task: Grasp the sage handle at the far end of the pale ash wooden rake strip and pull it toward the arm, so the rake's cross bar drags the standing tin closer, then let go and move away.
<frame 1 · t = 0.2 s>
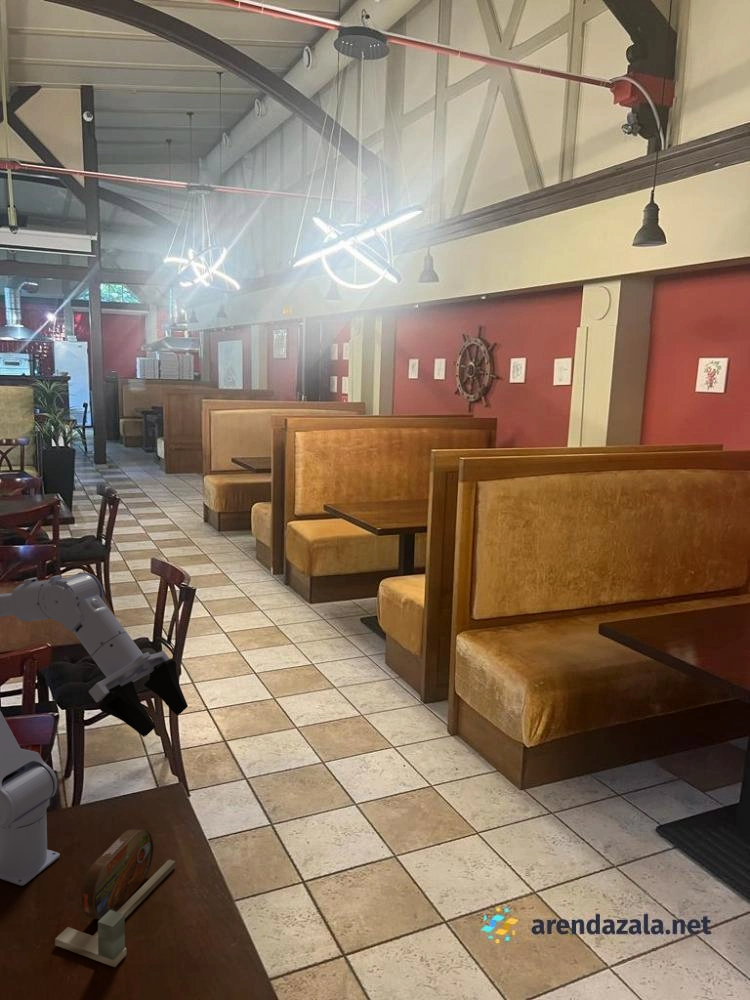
hand: (166, 721, 101), 31 cm above the table, tool tilted 45°, fingers open, 7 cm apart
rake strip: (132, 889, 107), point 3 cm above the table, slide at 0.0 cm
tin: (119, 898, 109), on the table
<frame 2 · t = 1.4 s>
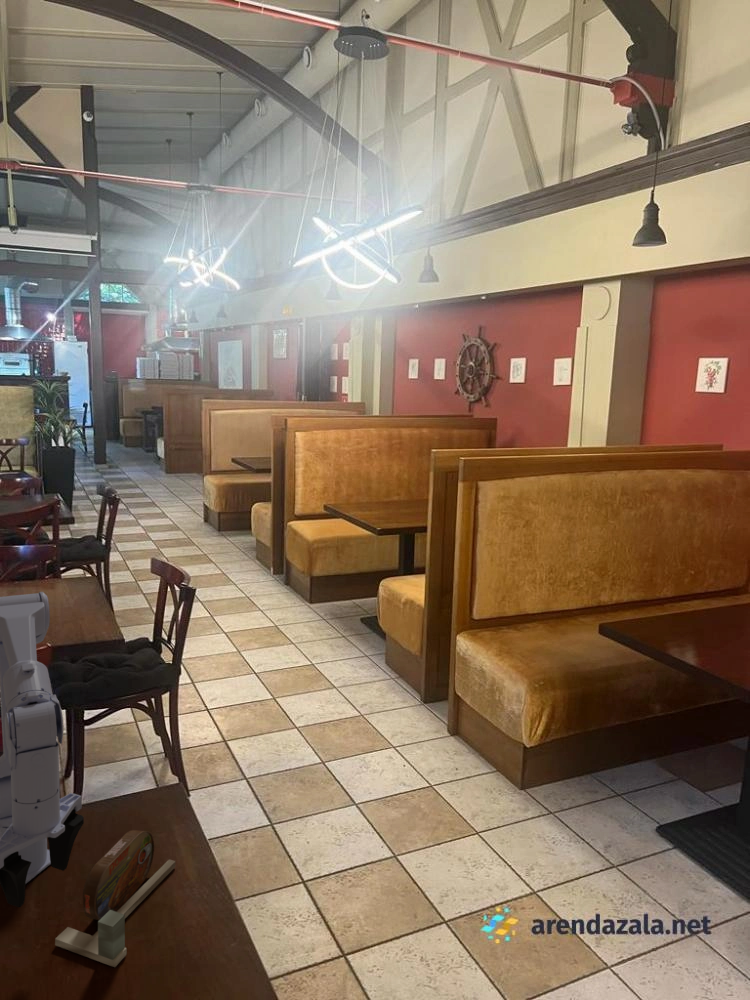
hand: (38, 885, 96), 10 cm above the table, tool pointing down, fingers open, 7 cm apart
nothing on the table moved.
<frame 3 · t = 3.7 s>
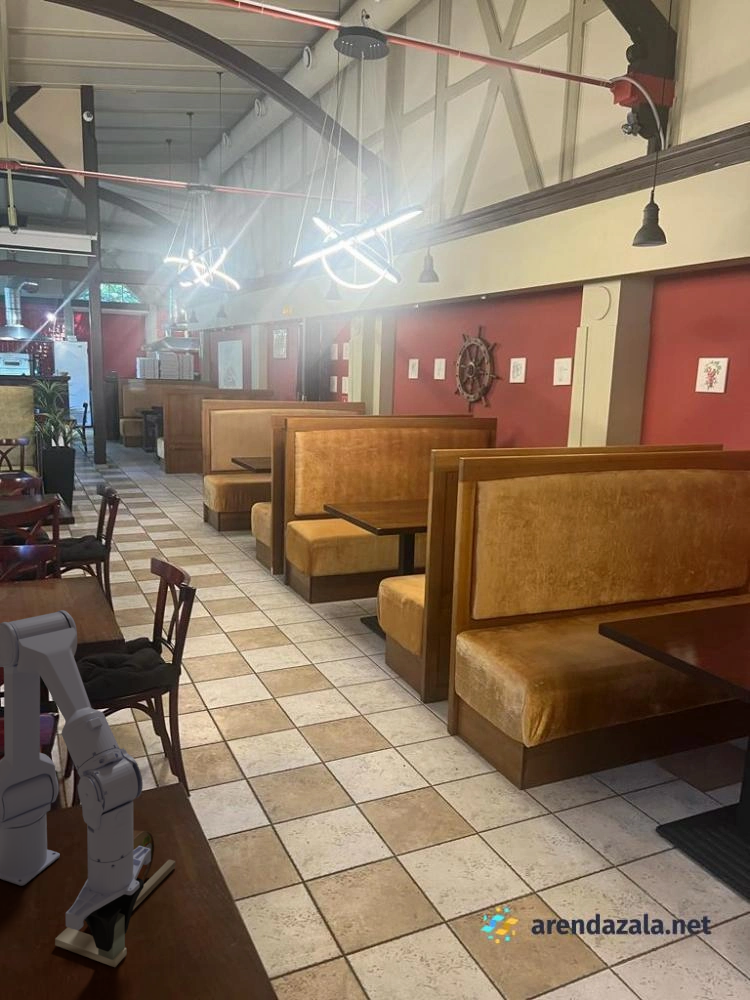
hand: (111, 939, 97), 3 cm above the table, tool pointing down, fingers closed on rake strip, 2 cm apart
rake strip: (132, 889, 107), point 3 cm above the table, slide at 0.0 cm, touching gripper
everything else where it was.
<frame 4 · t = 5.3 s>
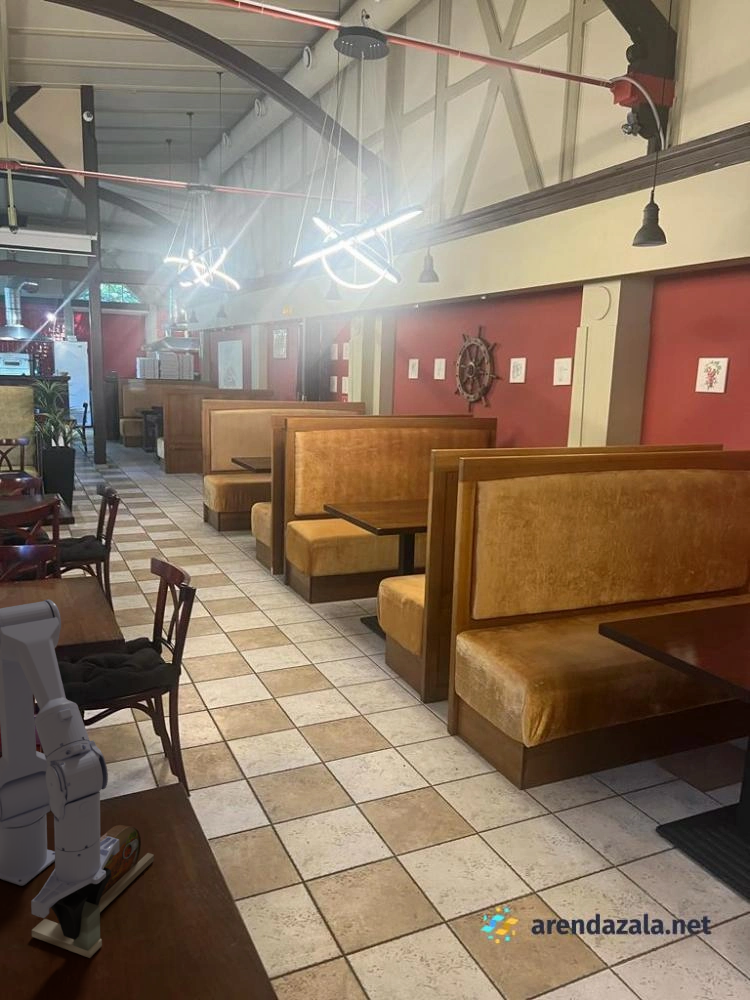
hand: (79, 928, 99), 3 cm above the table, tool pointing down, fingers closed on rake strip, 2 cm apart
rake strip: (109, 881, 108), point 3 cm above the table, slide at 4.1 cm, touching gripper
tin: (103, 892, 111), on the table
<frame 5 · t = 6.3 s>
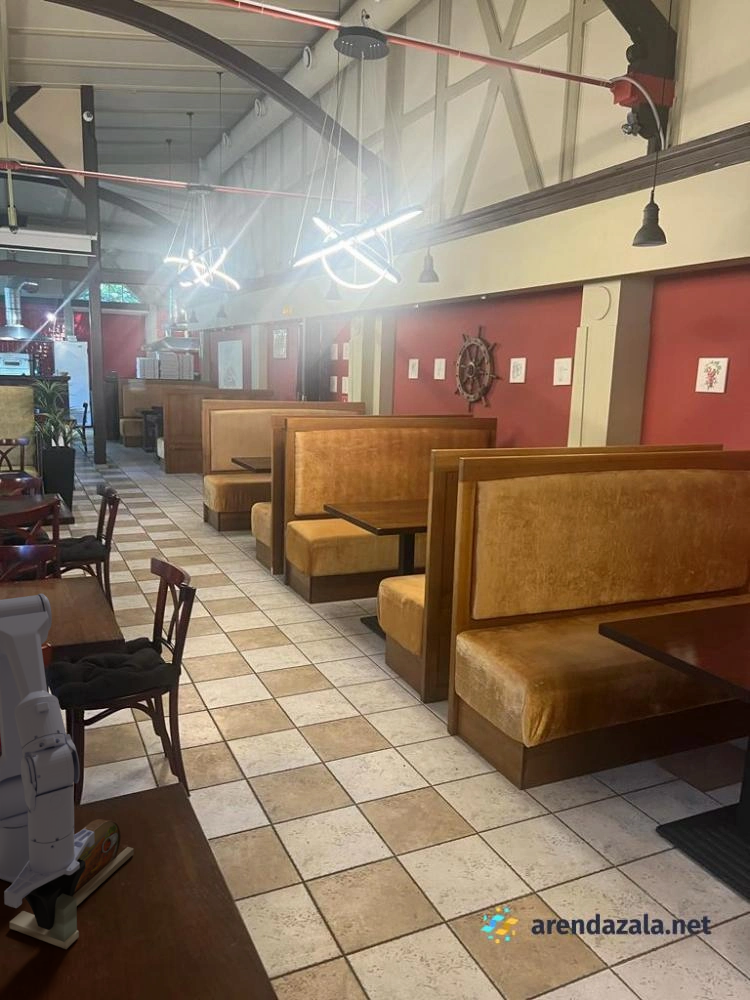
hand: (53, 919, 101), 3 cm above the table, tool pointing down, fingers closed on rake strip, 2 cm apart
rake strip: (88, 874, 109), point 3 cm above the table, slide at 8.1 cm, touching gripper, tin
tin: (82, 885, 112), on the table, touching rake strip
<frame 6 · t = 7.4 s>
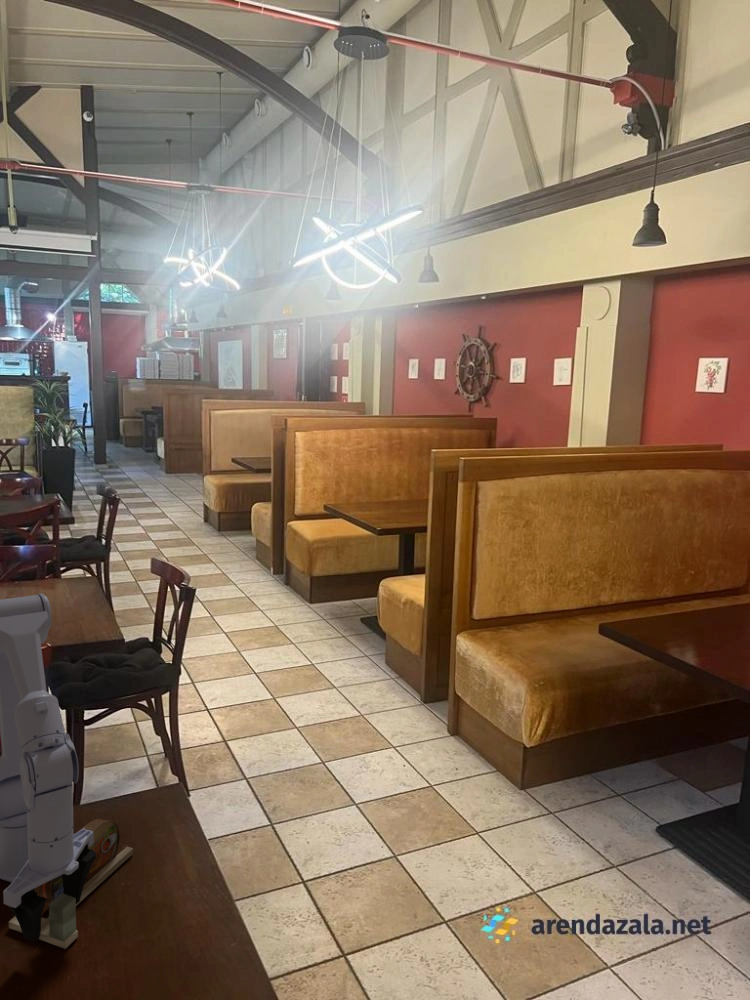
hand: (52, 918, 101), 3 cm above the table, tool pointing down, fingers open, 7 cm apart
rake strip: (87, 874, 109), point 3 cm above the table, slide at 8.2 cm
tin: (81, 885, 112), on the table
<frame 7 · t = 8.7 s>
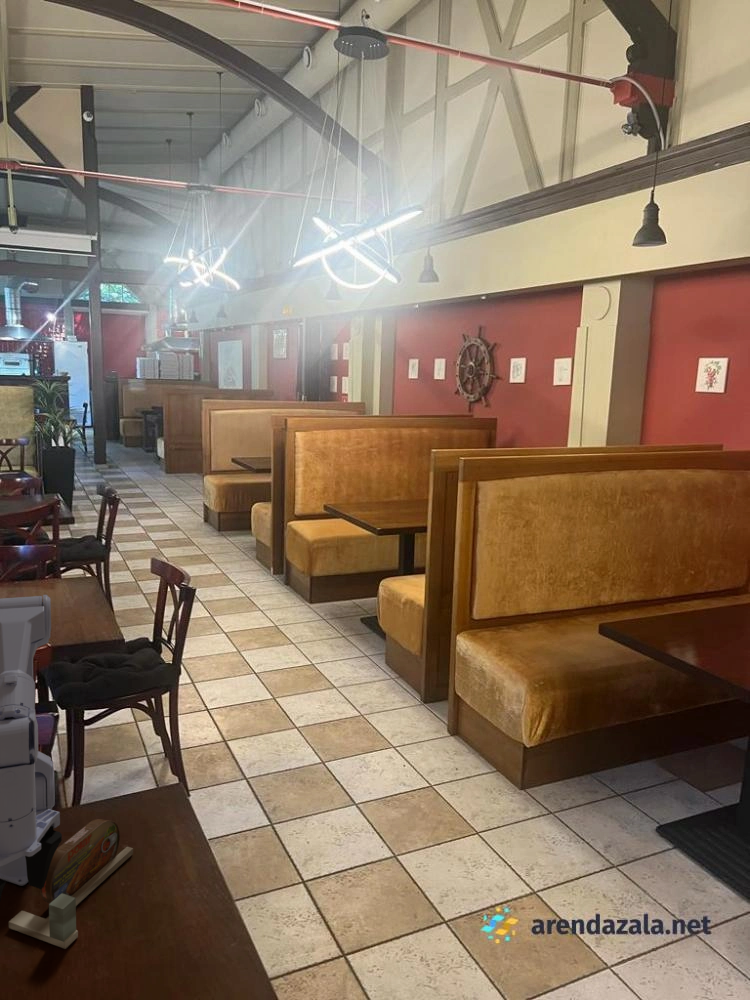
hand: (14, 904, 94), 9 cm above the table, tool pointing down, fingers open, 7 cm apart
nothing on the table moved.
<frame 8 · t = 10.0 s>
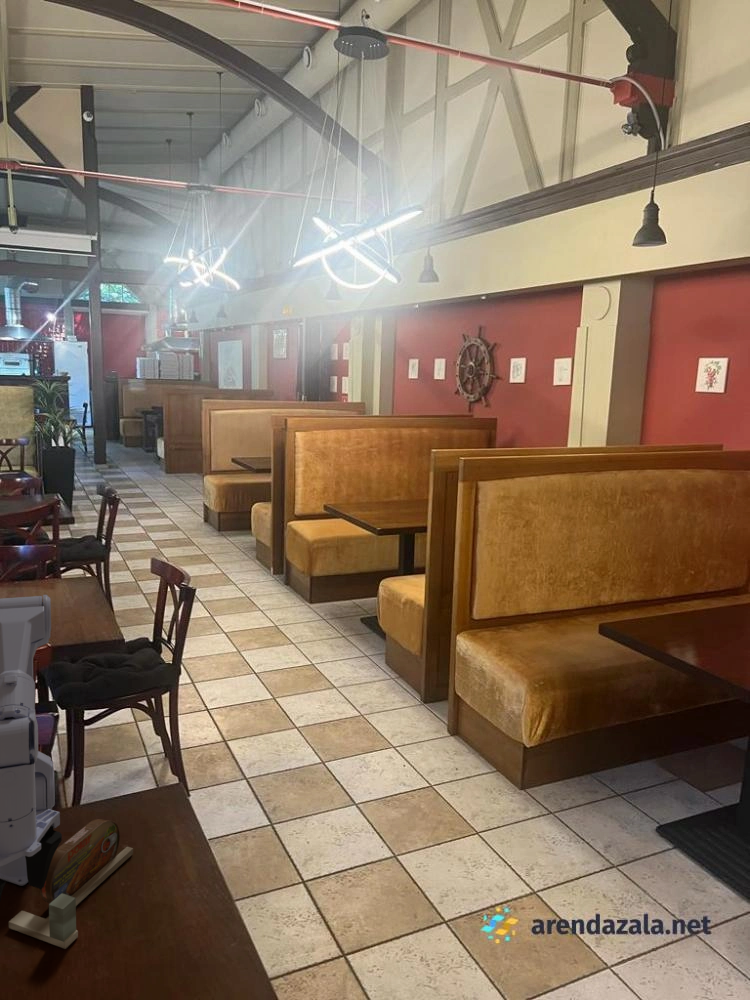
hand: (14, 904, 94), 9 cm above the table, tool pointing down, fingers open, 7 cm apart
nothing on the table moved.
at the end: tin 0.8 cm from the target spot, on the table; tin tilted 0°; rake strip slide at 8.2 cm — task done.
